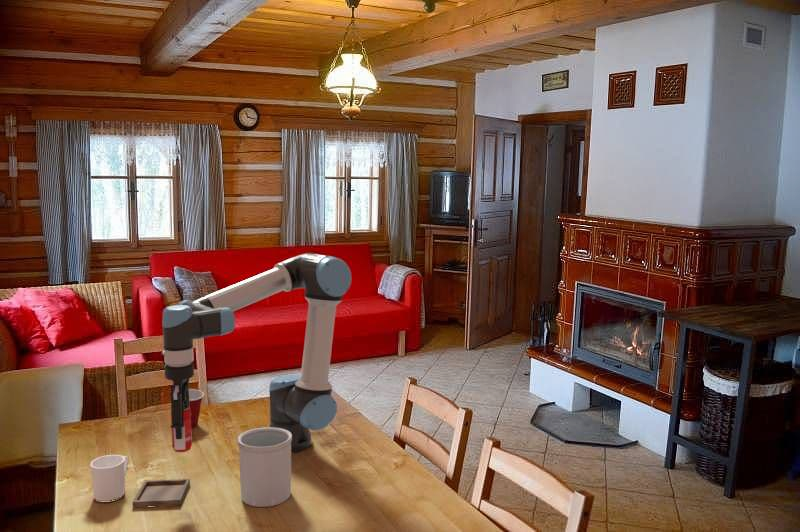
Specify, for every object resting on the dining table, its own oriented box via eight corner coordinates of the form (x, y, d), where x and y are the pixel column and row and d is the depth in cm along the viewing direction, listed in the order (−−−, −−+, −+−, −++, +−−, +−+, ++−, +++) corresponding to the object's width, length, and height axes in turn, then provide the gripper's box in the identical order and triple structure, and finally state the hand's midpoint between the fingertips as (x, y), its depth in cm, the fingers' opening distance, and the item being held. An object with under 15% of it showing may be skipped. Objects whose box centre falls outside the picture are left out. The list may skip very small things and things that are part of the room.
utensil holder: (246, 482, 200) (245, 425, 197) (297, 483, 199) (296, 426, 197) (233, 507, 185) (231, 446, 183) (287, 509, 185) (286, 447, 182)
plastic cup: (195, 433, 236) (194, 399, 234) (167, 429, 238) (166, 397, 237) (211, 421, 246) (210, 389, 244) (184, 418, 249) (183, 387, 247)
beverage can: (174, 454, 184) (172, 412, 182) (170, 447, 189) (168, 405, 187) (194, 450, 187) (192, 408, 185) (189, 443, 191) (188, 402, 189)
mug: (105, 507, 185) (103, 471, 184) (85, 498, 190) (83, 463, 188) (139, 490, 194) (137, 456, 193) (120, 483, 199) (118, 449, 197)
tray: (190, 484, 198) (189, 478, 198) (180, 506, 186) (180, 500, 186) (145, 486, 197) (145, 480, 197) (132, 508, 185) (132, 501, 184)
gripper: (171, 354, 192) (174, 432, 196) (157, 373, 175) (160, 459, 178) (198, 353, 193) (201, 431, 197) (187, 372, 176) (190, 458, 179)
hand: (182, 444), depth 187 cm, fingers closed on beverage can, 5 cm apart
